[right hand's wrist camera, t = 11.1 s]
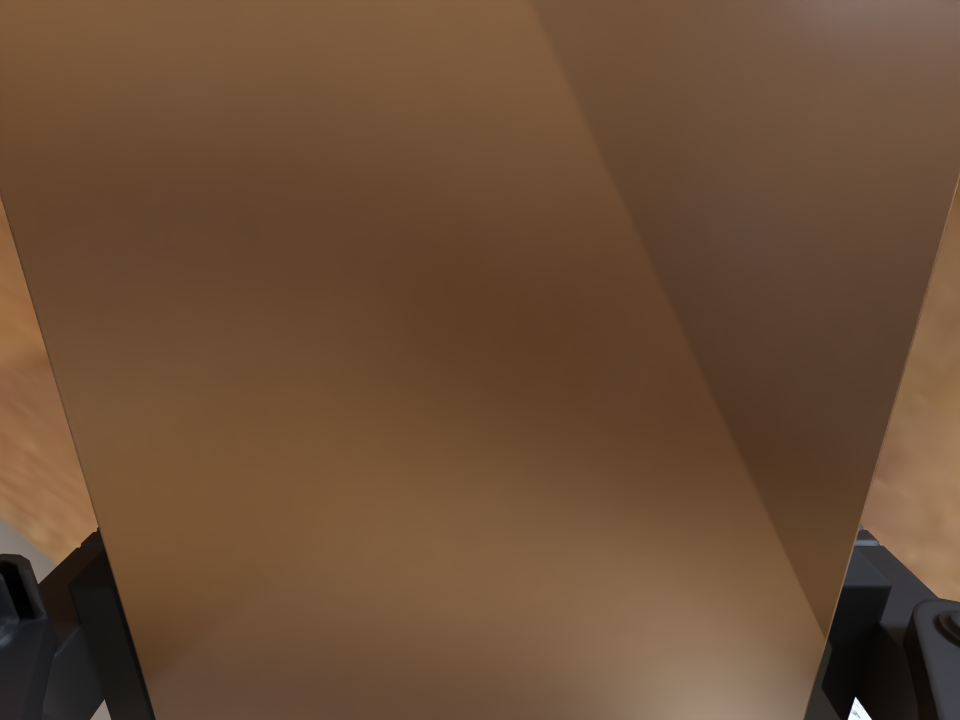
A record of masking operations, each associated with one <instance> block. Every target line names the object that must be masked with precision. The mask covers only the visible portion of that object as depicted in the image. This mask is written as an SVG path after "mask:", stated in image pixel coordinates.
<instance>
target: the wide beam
mask: <svg viewBox="0 0 960 720" xmlns="http://www.w3.org/2000/svg"><path fill="white" fill-rule="evenodd" d="M959 180H960V0H0V195H1V199H2V202H3V205H4V209H5V212H6V216H7V219H8V222H9V226H10V229H11V232H12V236H13V239H14V243H15V246H16V249H17V253H18V256H19V259H20V263H21V266H22V270H23V273H24V276H25V280H26V283H27V287H28V290H29V293H30V297H31V300H32V303H33V307H34V310H35V314H36V317H37V320H38V324H39V327H40V330H41V334H42V337H43V341H44V344H45V347H46V351H47V354H48V357H49V361H50V364H51V368H52V371H53V374H54V378H55V381H56V384H57V388H58V391H59V395H60V398H61V401H62V405H63V408H64V411H65V415H66V418H67V422H68V425H69V428H70V432H71V435H72V438H73V442H74V445H75V449H76V452H77V455H78V459H79V462H80V465H81V469H82V472H83V476H84V479H85V482H86V486H87V489H88V492H89V496H90V499H91V503H92V506H93V509H94V513H95V516H96V519H97V523H98V526H99V530H100V533H101V536H102V540H103V543H104V546H105V550H106V553H107V557H108V560H109V563H110V567H111V570H112V573H113V577H114V580H115V584H116V587H117V590H118V594H119V597H120V600H121V604H122V607H123V611H124V614H125V617H126V621H127V624H128V627H129V631H130V634H131V638H132V641H133V644H134V648H135V651H136V655H137V658H138V661H139V665H140V668H141V671H142V675H143V678H144V682H145V685H146V688H147V692H148V695H149V698H150V702H151V705H152V709H153V712H154V715H155V719H156V720H804V718H805V715H806V712H807V708H808V705H809V701H810V698H811V694H812V691H813V687H814V684H815V680H816V677H817V673H818V670H819V666H820V663H821V659H822V656H823V652H824V649H825V646H826V642H827V639H828V635H829V632H830V628H831V625H832V621H833V618H834V614H835V611H836V607H837V604H838V600H839V597H840V593H841V590H842V586H843V583H844V580H845V576H846V573H847V569H848V566H849V562H850V559H851V555H852V552H853V548H854V545H855V541H856V538H857V534H858V531H859V527H860V524H861V520H862V517H863V514H864V510H865V507H866V503H867V500H868V496H869V493H870V489H871V486H872V482H873V479H874V475H875V472H876V468H877V465H878V461H879V458H880V454H881V451H882V448H883V444H884V441H885V437H886V434H887V430H888V427H889V423H890V420H891V416H892V413H893V409H894V406H895V402H896V399H897V395H898V392H899V388H900V385H901V382H902V378H903V375H904V371H905V368H906V364H907V361H908V357H909V354H910V350H911V347H912V343H913V340H914V336H915V333H916V329H917V326H918V322H919V319H920V316H921V312H922V309H923V305H924V302H925V298H926V295H927V291H928V288H929V284H930V281H931V277H932V274H933V270H934V267H935V263H936V260H937V256H938V253H939V250H940V246H941V243H942V239H943V236H944V232H945V229H946V225H947V222H948V218H949V215H950V211H951V208H952V204H953V201H954V197H955V194H956V190H957V187H958V184H959Z"/></svg>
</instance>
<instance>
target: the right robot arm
mask: <svg viewBox="0 0 960 720" xmlns="http://www.w3.org/2000/svg"><path fill="white" fill-rule="evenodd" d="M855 697H856V698H857V700H858V701H859V703H860V704H861V705H862V707H863V708H864V710H865V711H866V712H867V714H868V715H869V717H870V718H871V720H960V602H956V601H951V600H946V599H941V598H938V597H937V596H936V595H935V594H934V593H933V592H932V591H931V590H930V589H929V588H927V587H926V586H925V585H924V584H923V583H922V582H921V581H920V580H919V579H918V578H917V577H916V576H915V575H914V574H913V573H912V572H911V571H909V570H908V569H907V568H906V567H905V566H904V565H903V564H902V563H901V562H900V561H899V560H898V559H897V558H896V557H895V556H894V555H893V554H892V553H890V552H889V551H888V550H887V549H886V548H885V547H884V546H880V545H879V541H878V540H877V539H876V538H875V537H874V536H872V535H871V534H870V533H869V532H868V531H867V530H863V526H862V525H861V524H860V527H859V531H858V534H857V538H856V541H855V545H854V548H853V552H852V555H851V559H850V562H849V566H848V569H847V573H846V576H845V580H844V583H843V586H842V590H841V593H840V597H839V600H838V604H837V607H836V611H835V614H834V618H833V621H832V625H831V628H830V632H829V635H828V639H827V642H826V646H825V649H824V652H823V656H822V659H821V663H820V666H819V670H818V673H817V677H816V680H815V684H814V687H813V691H812V694H811V698H810V701H809V705H808V708H807V712H806V715H805V718H804V720H848V718H849V715H850V712H851V709H852V706H853V703H854V700H855ZM104 699H105V702H106V705H107V708H108V711H109V714H110V717H111V720H156V719H155V715H154V712H153V709H152V705H151V702H150V698H149V695H148V692H147V688H146V685H145V682H144V678H143V675H142V671H141V668H140V665H139V661H138V658H137V655H136V651H135V648H134V644H133V641H132V638H131V634H130V631H129V627H128V624H127V621H126V617H125V614H124V611H123V607H122V604H121V600H120V597H119V594H118V590H117V587H116V584H115V580H114V577H113V573H112V570H111V567H110V563H109V560H108V557H107V553H106V550H105V546H104V543H103V540H102V536H101V533H100V530H99V527H98V528H97V532H93V533H92V534H91V535H90V536H89V537H88V538H87V539H85V540H84V541H83V542H82V543H81V547H80V548H76V549H75V550H74V551H73V552H72V553H71V554H70V555H69V556H68V557H67V558H66V559H64V560H63V561H62V562H61V563H60V564H59V565H58V566H57V567H56V568H55V569H54V570H53V571H52V572H51V573H50V574H49V575H48V576H47V577H46V578H45V579H43V580H42V581H41V582H40V583H39V584H38V583H37V580H36V577H35V575H34V572H33V569H32V566H31V563H30V561H29V560H28V559H26V558H25V557H23V556H21V555H16V554H0V720H90V719H91V718H92V716H93V715H94V713H95V712H96V710H97V709H98V708H99V706H100V705H101V703H102V702H103V701H104Z"/></svg>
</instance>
